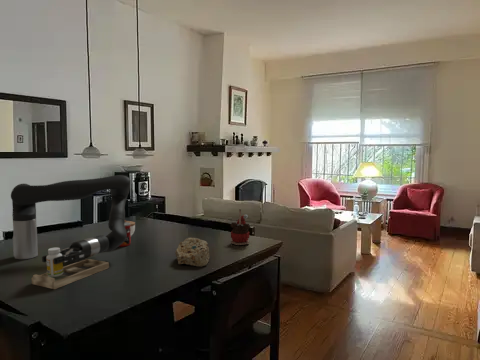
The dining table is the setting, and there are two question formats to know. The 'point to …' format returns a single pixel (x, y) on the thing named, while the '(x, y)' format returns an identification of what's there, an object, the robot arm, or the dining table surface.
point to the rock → (193, 252)
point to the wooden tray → (70, 273)
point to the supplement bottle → (51, 267)
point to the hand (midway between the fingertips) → (48, 260)
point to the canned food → (128, 238)
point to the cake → (240, 231)
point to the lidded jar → (131, 227)
